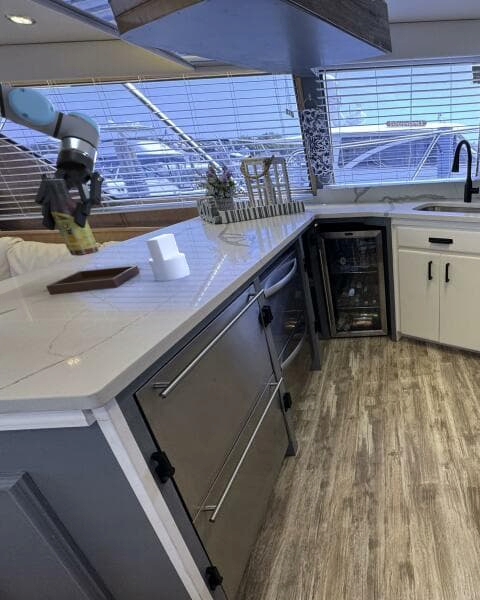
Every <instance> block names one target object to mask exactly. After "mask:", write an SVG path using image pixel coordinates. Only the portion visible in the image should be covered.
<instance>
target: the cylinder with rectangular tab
mask: <svg viewBox="0 0 480 600" xmlns="http://www.w3.org/2000/svg"><path fill="white" fill-rule="evenodd" d="M145 243H146V245H147V249H148V251H149V254H150V257H149V259H148V263H149V266H150V268H151V271H152V274H153V277H154V280H155V281H158V282H169V281H175V280H179V279H182V278H186V277H188V276H190V274H191V270H190V267H189V265H188V261H187V258H186V255H185V253H183V252H180V250H179V248H178V244H177V242H176V238H175V235H174V233H164V234H163V233H162V234H160V235H157V236H153V237H152V238H149V239H146V240H145Z"/></svg>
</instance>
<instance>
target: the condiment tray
mask: <svg viewBox="0 0 480 600" xmlns="http://www.w3.org/2000/svg"><path fill="white" fill-rule="evenodd" d="M140 273H141V272H140V269H139V267H138V265H130V266H129V265H128V266H118V267H117V266H116V267H108V268H107V267H106V268H98V269H97V268H96V269H86V270H78V271H76V272H74V273H72V274H70V275H68V276H64V277H63V278H60V279H59V280H56V281H54V282H52V283H49V284H48V285H46V289H47V291H48V293H49V294H50V295H59V294H69V293H79V292H87V291H88V292H89V291H97V290H105V289H113V288H114V289H115V288H118V287H120V286H122V285H123V284H125V283H126V282H128V281H130V280H131V279H133V278H134V277H136V276H137V275H140ZM50 295H49V296H50Z"/></svg>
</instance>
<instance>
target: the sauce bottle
mask: <svg viewBox="0 0 480 600" xmlns="http://www.w3.org/2000/svg"><path fill="white" fill-rule="evenodd" d="M43 182H44V184H45V186H46V187H47V189H48V191H49V193H50V196H51V213H52V216H53V218H54V220H55V222H56V224H55V226H56V228H57V229H58V231H59V234H60V236H61V238H62V240H63V243H64V244H65V247H66V249H67V250H68V251H69V253H70V255H71V256H73V257H75V256H79V257H80V256H86V255H91V254H95V253H98V252H99V247H98V243H97V242H96V238H95V237H94V234H93V231H92V229H91V226H90V224H89V221H88V219H87V218H86V224H85V228H81V227H79V226H78V225H77V224H76V223H74V218H75V212H76V207H77V202H78V201H76V200H75V199H74V198H73V197H72V195H71V193H70V190H69V191H68V189H67V186H66V182H65V180H64V179H48V180H43Z"/></svg>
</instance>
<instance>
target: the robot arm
mask: <svg viewBox="0 0 480 600" xmlns="http://www.w3.org/2000/svg"><path fill="white" fill-rule="evenodd" d="M0 118H3V119H5V120H8V121H10V122H12V123H14V124H16V125H20V126H21V127H25V128H28V129H30V130H33V131H36V132H37V133H38V132H39V133H41V134H44V135H46V136H50V137H52V138H54V139H57V140H59V141H60V144H59V148H58V150H57V151H58V153H57V156H56V162H55V165H56V170H55V172H54V173H53V174H50V175H48V174H46V173H42V174H41V175H40V178H41V181H40V184H39V187H38V190H37V193H36V196H35V198H34V203H35V204H37V205H38V206H39V207H41V208H42V210H41V216H42V217H43V218H42V222H41V225H42V226H44V227H45V228H47V229H48V230H49V231H55V228H56V222H55V220H54V218H53V216H52V213H51V196H50V193H49V191H48V189H47V187H46V186H45V184H44V182H43V180H48V179H64V180H65V182H66V186H67V189H68V191H69V192H70V191H71V190H72V188H76V189H77V191H78V194H79V197H80V198H79V199H80V201H76V202H77V207H76V212H75V218H74V223H76V224H77V225H78V226H79V227H81V228H85V224H86V219H87V218H88V217H90V215H91V211H92V208H93V206H95V205H96V206H100V205H101V204H102V187H103V183H104V181H105V178H104V177H103V176H102V175H101V174H100V172H98V171H95V164H96V159H97V153H98V148H99V144H100V143H99V142H100V139H101V135H100V133H101V127H100V125H99V123H98V121H96V120H95V119H94V118H93V117H92V116H90V115H88V114H86V113H83V112H78V111H70V112H68V113H67V114H66V113H63V112H62V111H59V110H57V109H55V106H54V104H53V102H52V101H51V100H50V99H49V98H48V97H47V96H46V95H45V94H43V93H42V92H40V91H38V90H36V89H33V88H29V87H22V86H21V87H15V86H11V85H8V84H4V83H0ZM88 182H90V183H89V186H88Z"/></svg>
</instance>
